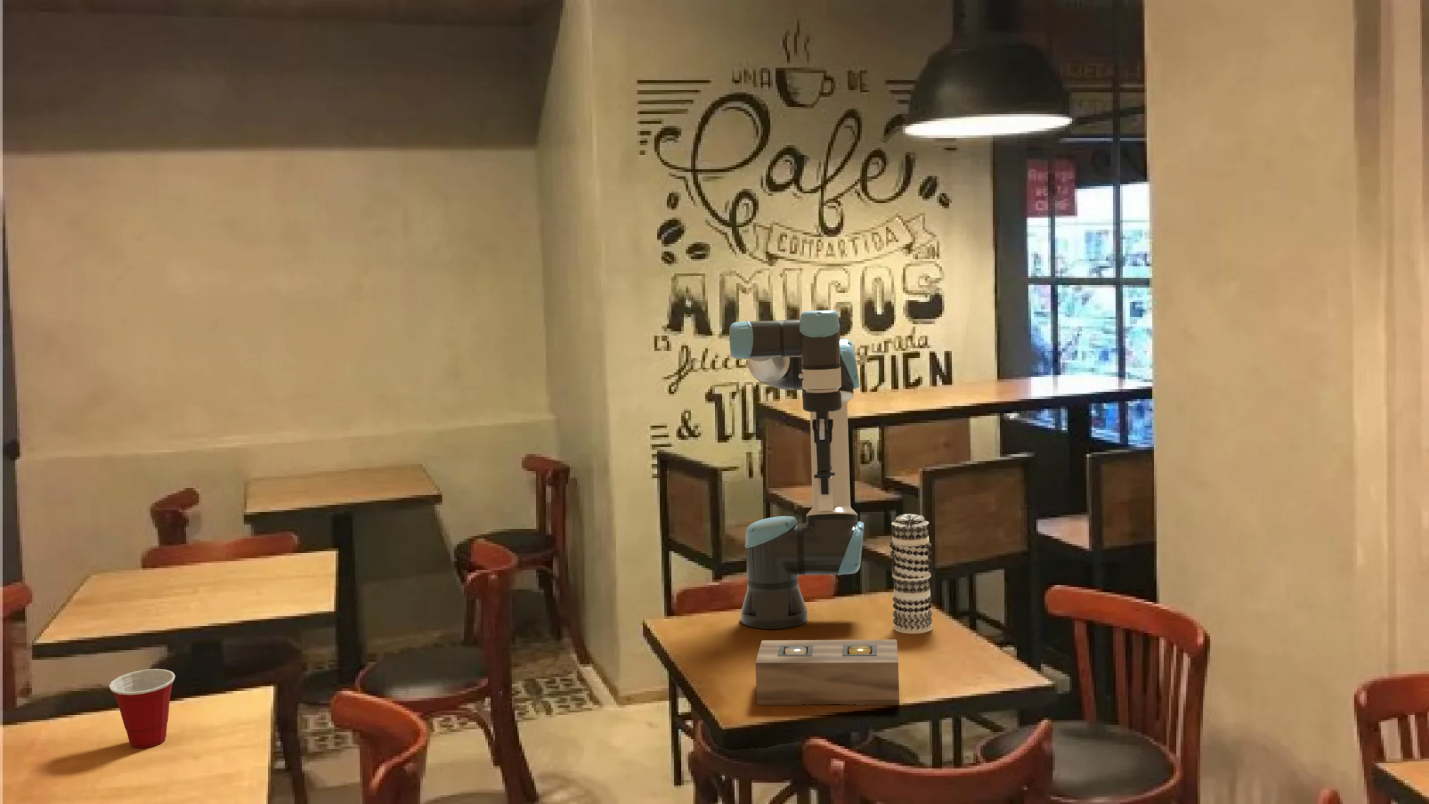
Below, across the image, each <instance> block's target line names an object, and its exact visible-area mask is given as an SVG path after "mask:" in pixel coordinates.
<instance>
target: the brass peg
mask: <svg viewBox="0 0 1429 804" xmlns="http://www.w3.org/2000/svg"><path fill="white" fill-rule="evenodd" d="M849 654H871V653H870V648H869V647H867V646H853V647H850V648H849Z"/></svg>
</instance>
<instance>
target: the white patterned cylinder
mask: <svg viewBox="0 0 1429 804" xmlns="http://www.w3.org/2000/svg"><path fill="white" fill-rule="evenodd" d="M929 524H930V522H929V521H927V520H926V519H925V517H924V516H923V515H921V514H916V513H904V514H903V513H902V514H900V515H897V516H896V517H895V519H894V521H892V522H891V525H892V532H893V534H892V536H891V537H892V540H891V541H890V542H889V547H890V549H891V551H890V555H889V556H890V557H891V558H890V564H891V565H892V567H891V571H890V572H892V573H891V575H892V578H893V579H894V581H893V582H894V588H893V597H892V601H893V602H894V603H893V604H892V607H893V608H894V611H893V612H892V615H893V617H894V618H893V619H892V623H893V624H894V625H893V630H894V631H896V632H897V633H898V632H899V633H902V634H908V635H909V634H910V635H912V634H915V635H916V634H924V633H928V632H931V630H933V626H932V624H933V619H932V617H933V612H932V610H931V609H932V607H933V604H932V603H931V602H932V599H933V597H932V596H931V588H930V578H931V577H932V575H931V574H932V573H931V572H930V571H932V570H933V569H932V567H931V566H930V564H932V562H933V561H932V559H930V558H929V556H931V555H932V554H933V551H932V550H930V549H931V548H932V547H933V544H932V543H930V536H929V526H928V525H929Z"/></svg>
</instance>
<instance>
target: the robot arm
mask: <svg viewBox="0 0 1429 804" xmlns="http://www.w3.org/2000/svg"><path fill="white" fill-rule="evenodd" d="M840 327H841V325H840V321H839V314H838V312H837V311H835V310H830V309H822V310H821V309H820V310H806V311H803V312H801V313H800V316H799V319H783V320H782V319H781V320H756V321H755V320H744V321H736V322H733V323H731V324H730V326H729V335H728V336H729V338H728V339H729V341H728V342H729V352H730V355H731V357H732V358H733V359H736V360H737V359H740V360H741V359H743V360H747V368H748V370H749V372H750V374H751V375H752V376H753V377H754V379H756V380H757V381H758V382H760V383H761V384H764V385H766V386H769V387H772V388H774V389H780V390H785V391H802V394H801V395H802V409H803V411H805V412H807V413H810V414H809V419H810V421H809V422H810V424H809V425H810V426H809V427H810V455H811V456H810V459H811V461H810V462H811V496H812V497H811V502H812V507H811V509H810V510H809V511H808V512H807V514H806V515H805V518H806V519H805V520H806V521H805V523H798V520H797V519H796V516H791V515H789V516H787V515H783V516H781V515H780V516H774V517H773V516H772V517H768V518H767V517H766V518H763V519H760V520H757V521H754V522H752V523H750V524H749V525H748V526H747V528H746V531H745V544H744V548H745V551H746V552H745V553H746V579H747V580H746V582H747V585H746V586H747V590H746V591H745V592H746V593H745V596H744V599H743V603H742V605H741V606H742V607H741V610H740V619H741V620H740V621H741V624H743V625H745V626H747V627H749V628H754V629H760V630H761V629H762V630H781V629H788V628H794V627H799V626H801V625H803V624H805V623H806V622H807V621H808V618H809V617H808V608H807V605H806V603H805V600H804V597H803V595H802V592H801V588H800V585H799V576H825V575H826V576H831V575H832V576H833V575H837V576H841V575H851V574H856V573H858V571H859V569H861V568H860V567H861V560H862V550H863V540H864V529H865V523H864V522H862V521H858V513H857V512H856V511H855V510H854V509H853V508H852V507H851V484H850V483H851V481H850V477H851V476H850V453H849V451H850V449H849V423H848V422H849V418H848V414H849V413H848V404H849V402H850V401H851V399H853V397H854V390H856V389H858V388H860V379H859V373H858V366H857V365H858V364H857V360H856V359H857V358H856V354H855V349H854V345H853V342H852V341H851V340H849V339H847V338H841V333H840Z"/></svg>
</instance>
